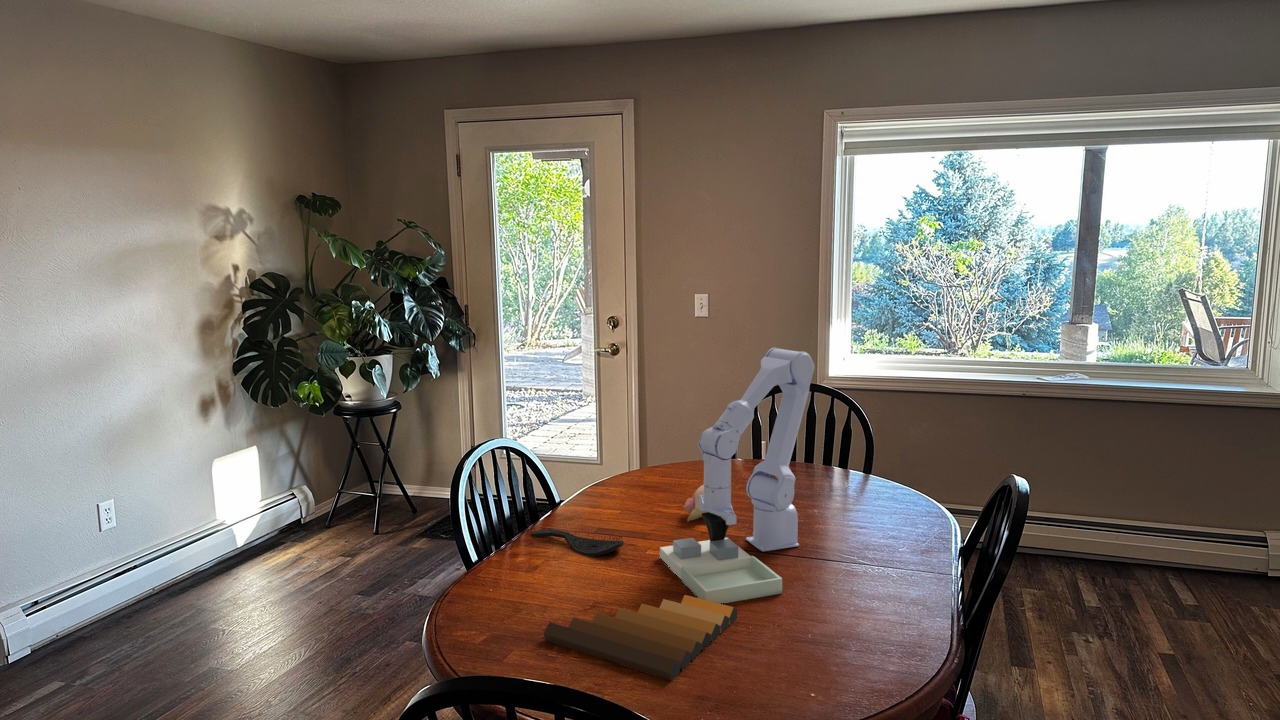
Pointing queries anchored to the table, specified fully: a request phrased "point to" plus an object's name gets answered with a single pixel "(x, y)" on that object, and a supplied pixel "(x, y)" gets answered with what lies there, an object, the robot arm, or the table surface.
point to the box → (734, 583)
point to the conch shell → (694, 504)
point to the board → (704, 561)
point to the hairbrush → (583, 542)
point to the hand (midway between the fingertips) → (716, 546)
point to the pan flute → (648, 634)
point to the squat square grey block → (723, 549)
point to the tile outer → (687, 548)
